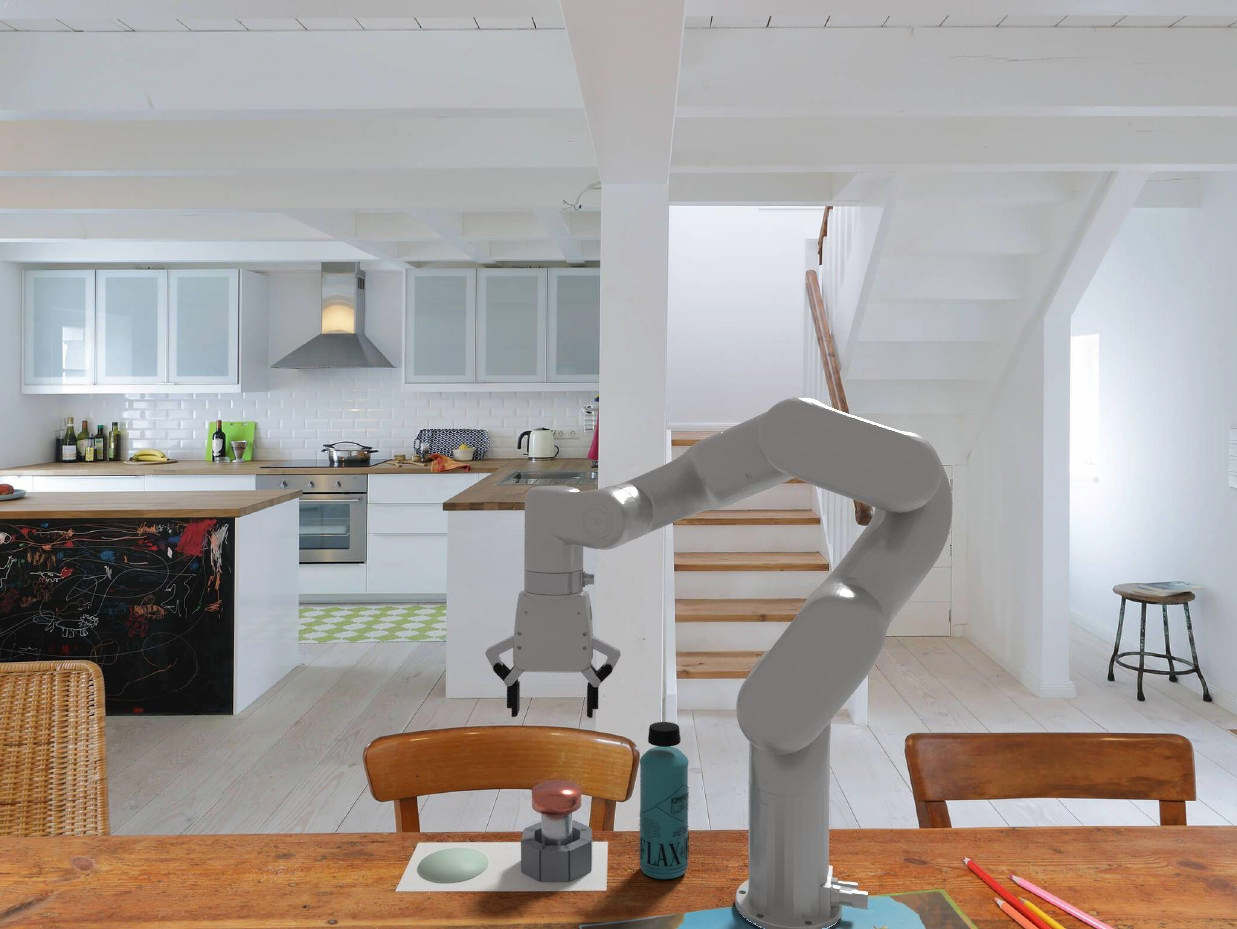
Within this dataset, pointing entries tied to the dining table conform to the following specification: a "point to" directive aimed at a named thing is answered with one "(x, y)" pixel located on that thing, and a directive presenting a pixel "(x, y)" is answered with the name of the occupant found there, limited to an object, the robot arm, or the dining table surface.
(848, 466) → the robot arm
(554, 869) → the board
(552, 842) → the copper domed post
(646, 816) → the beverage bottle
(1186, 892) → the dining table surface
